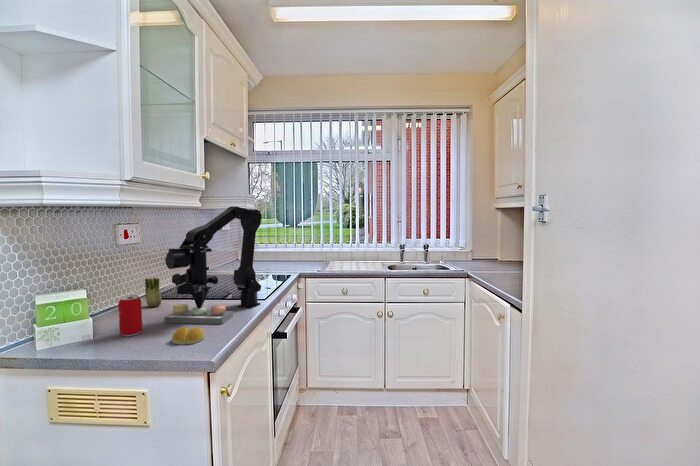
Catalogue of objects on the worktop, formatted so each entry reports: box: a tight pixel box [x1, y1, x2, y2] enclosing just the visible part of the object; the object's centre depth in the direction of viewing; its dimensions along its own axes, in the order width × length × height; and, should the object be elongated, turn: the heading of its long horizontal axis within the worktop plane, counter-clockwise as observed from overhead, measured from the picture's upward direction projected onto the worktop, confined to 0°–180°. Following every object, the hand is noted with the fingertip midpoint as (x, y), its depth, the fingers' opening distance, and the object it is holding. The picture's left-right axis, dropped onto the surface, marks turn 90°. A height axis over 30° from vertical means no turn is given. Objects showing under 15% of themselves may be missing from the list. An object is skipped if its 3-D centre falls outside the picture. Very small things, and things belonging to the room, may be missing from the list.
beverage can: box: [117, 294, 143, 338], centre depth 114 cm, size 6×6×12 cm
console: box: [163, 309, 234, 325], centre depth 129 cm, size 9×21×2 cm, turn 85°
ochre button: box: [172, 303, 189, 313], centre depth 129 cm, size 5×5×2 cm
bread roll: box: [171, 327, 206, 345], centre depth 109 cm, size 8×9×4 cm
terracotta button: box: [210, 304, 227, 314], centre depth 128 cm, size 5×5×2 cm
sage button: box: [191, 305, 208, 316], centre depth 129 cm, size 5×5×2 cm
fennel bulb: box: [144, 277, 162, 308], centre depth 146 cm, size 6×5×12 cm
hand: (199, 308), depth 129 cm, fingers closed, pressing on sage button
